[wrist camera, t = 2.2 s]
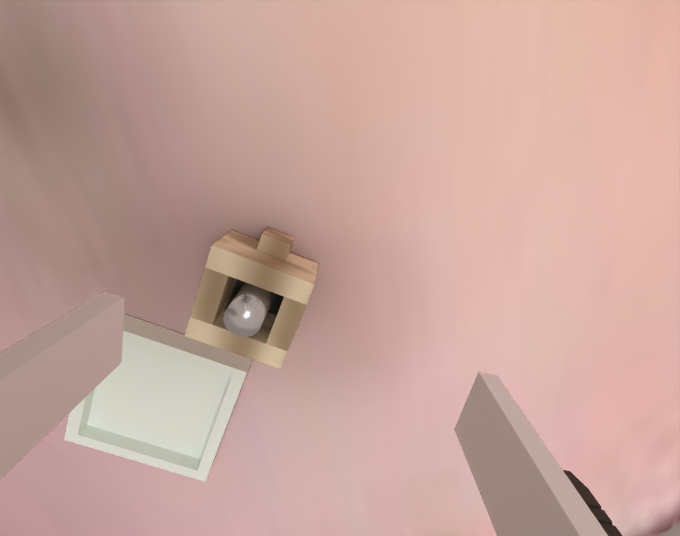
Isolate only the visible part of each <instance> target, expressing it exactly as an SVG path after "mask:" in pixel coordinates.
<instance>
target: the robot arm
mask: <svg viewBox="0 0 680 536" xmlns="http://www.w3.org/2000/svg"><path fill="white" fill-rule="evenodd" d="M124 304H125V297H124V296H120V295H115V294H110V293H105V292H102V293H100V294H98V295H97V296H95V297H93V298H92V299H90V300H88V301H87V302H85V303H83V304H81V305H80V306H78V307H76V308H75V309H73V310H71V311H70V312H68V313H66V314H65V315H63V316H61V317H60V318H58V319H56V320H54V321H53V322H51V323H49V324H48V325H46V326H44V327H43V328H41V329H39V330H38V331H36V332H34V333H33V334H31V335H29V336H27V337H26V338H24V339H22V340H21V341H19V342H17V343H16V344H14V345H12V346H11V347H9V348H7V349H6V350H4V351H2V352H0V479H1V478H2V477H3V476H5V475H6V474H7V473H8V472H9V471H10V470H11V469H12V468H13V467H14V466H15V465H16V464H17V463H18V462H19V461H20V460H21V459H22V458H23V457H24V456H25V455H26V454H27V453H28V452H29V451H30V450H31V449H33V448H34V447H35V446H36V445H37V444H38V443H39V442H40V441H41V440H42V439H43V438H44V437H45V436H46V435H47V434H48V433H49V432H50V431H51V430H52V429H53V428H54V427H55V426H56V425H57V424H58V423H59V422H61V421H62V420H63V419H64V418H65V417H66V416H67V415H68V414H69V413H70V412H71V411H72V410H73V409H74V408H75V407H76V406H77V405H78V404H79V403H80V402H81V401H82V400H83V399H84V398H85V397H86V396H87V395H89V394H90V393H91V392H92V391H93V390H94V389H95V388H96V387H97V386H98V385H99V384H100V383H101V382H102V381H103V380H104V379H105V378H106V377H107V376H108V375H109V374H110V373H111V372H112V371H113V370H114V369H116V368H117V367H118V366H119V365H120V364H121V362H122V343H123V324H124ZM455 432H456V434H457V437H458V439H459V442H460V444H461V447H462V449H463V452H464V454H465V457H466V459H467V462H468V464H469V467H470V469H471V472H472V474H473V477H474V479H475V482H476V484H477V487H478V489H479V491H480V494H481V496H482V499H483V501H484V504H485V506H486V509H487V511H488V514H489V516H490V519H491V521H492V524H493V526H494V529H495V531H496V534H497V536H622V535H621V533H620V532H619V531H618V529H617V528H616V527H615V526H613V525H612V521H611V520H610V518H609V517H608V516H607V514H606V513H605V511H604V510H601V506H600V504H599V503H598V502H597V500H596V499H595V498H594V496H593V495H592V493H591V492H590V491H589V489H588V488H587V487H586V486H585V485H584V484H583V483H582V482H581V481H580V480H578V479H577V478H576V477H575V476H574V475H573V474H572V473H571V472H570V471H566V470H562V468H561V467H560V465H559V464H558V462H557V461H556V460H555V458H554V457H553V455H552V454H551V452H550V451H549V449H548V448H547V446H546V445H545V444H544V442H543V441H542V439H541V438H540V436H539V435H538V433H537V432H536V431H535V429H534V428H533V426H532V425H531V423H530V422H529V420H528V419H527V417H526V416H525V415H524V413H523V412H522V410H521V409H520V407H519V406H518V404H517V403H516V402H515V400H514V399H513V397H512V396H511V394H510V393H509V391H508V390H507V388H506V387H505V386H504V384H503V383H502V381H501V380H500V378H499V377H498V376H496V375H491V374H487V373H482V372H478V374H477V377H476V379H475V382H474V384H473V386H472V389H471V391H470V394H469V396H468V398H467V401H466V403H465V405H464V408H463V410H462V413H461V415H460V417H459V420H458V422H457V425H456V427H455Z"/></svg>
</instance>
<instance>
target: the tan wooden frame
mask: <svg viewBox="0 0 680 536" xmlns="http://www.w3.org/2000/svg"><path fill="white" fill-rule="evenodd" d="M293 240H294V237H291V236H289V235H286V234H284V233H281V232H279V231H276V230H274V229H271V228H269V227H268V228H267V229H266V230H265V231H264V232H263V233H262V235H261V238H260V241H259V240H256V239H254V238H251V237H249V236H246V235H243V234H241V233H238V232H236V231H233V230H231V231H230V232H228V233H227V234H226V235H224V236H223V237H222V238H221V239H219V240H218V241H217V242H215V243H214V244H213V245H211V249H210V252H209V255H208V259H207V262H206V265H205V269H204V272H203V275H202V279H201V282H200V285H199V288H198V292H197V295H196V298H195V302H194V305H193V308H192V312H191V315H190V318H189V322H188V325H187V328H186V332H185V335H184V336H186V337H188V338H191V339H194V340H197V341H200V342H203V343H206V344H209V345H212V346H215V347H217V348H220V349H223V350H226V351H229V352H232V353H235V354H238V355H241V356H244V357H246V358H249V359H252V360H255V361H258V362H261V363H264V364H267V365H270V366H273V367H275V368H278V369H280V368H281V365H282V363H283V361H284V358H285V356H286V353H287V351H288V348H289V346H290V344H291V341H292V339H293V336H294V334H295V332H296V329H297V327H298V324H299V322H300V319H301V317H302V315H303V312H304V310H305V307H306V305H307V303H308V300H309V298H310V295H311V293H312V291H313V288H314V286H315V282H316V277H317V272H318V266H319V264H318V263H316V262H313V261H311V260H308V259H305V258H303V257H300V256H298V255H295V254H292V253H290V252H289V251H290V248H291V246H292V243H293ZM237 280H241V281H243V282H246V283H249V284H252V285H254V286H257V287H260V288H262V289H265V290H268V291H270V292H273V293H276V294H278V295H281V296H284V298H283V301H282V303H281V306H280V309H279V311H278V314H277V315H274V314H271V313H268V312H267V314H266V316H265V319H264V321H263V323H262V325H261V327H260V329H259V331H258V332H257V333H256V334H254V335H252V336H249V337H240V336H237V335H234V334H233V333H231V332H230V331H229V330H228V329H227V328H226V326H225V324H224V319H223V317H224V313H225V311H226V309H227V308H228V306H229V305H230V303H231V302H232V301H233V299H231V298H232V295H233V292H234V289H235V286H236V283H237Z"/></svg>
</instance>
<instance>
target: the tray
mask: <svg viewBox="0 0 680 536" xmlns="http://www.w3.org/2000/svg"><path fill="white" fill-rule="evenodd" d="M251 362H252V359H249V358H246V357H244V356H241V355H238V354H235V353H232V352H229V351H226V350H223V349H220V348H217V347H215V346H212V345H209V344H206V343H203V342H200V341H197V340H194V339H191V338H188V337H186V336H184V334H181V333H178V332H175V331H172V330H169V329H167V328H164V327H161V326H158V325H155V324H152V323H149V322H146V321H143V320H140V319H138V318H135V317H132V316H129V315H126V314H124V324H123V343H122V362H121V364H120V365H119V366H118V367H117V368H116V369H114V370H113V371H112V372H111V373H110V374H109V375H108V376H107V377H106V378H105V379H104V380H103V381H102V382H101V383H100V384H99V385H98V386H97V387H96V388H95V389H94V390H93V391H92V392H91V393H90V394H89V395H87V396H86V397H85V398H84V399H83V400H82V401H81V402H80V403H79V404H78V405H77V406H76V407H75V408H74V409H73V410H72V411H71V412H70V413H69V418H68V423H67V428H66V433H65V438H64V440H67V441H70V442H74V443H77V444H80V445H84V446H87V447H90V448H94V449H97V450H100V451H104V452H107V453H111V454H114V455H117V456H121V457H124V458H127V459H131V460H134V461H137V462H141V463H144V464H147V465H151V466H154V467H158V468H161V469H164V470H168V471H171V472H174V473H178V474H181V475H184V476H188V477H191V478H194V479H198V480H201V481H206V479H207V476H208V474H209V471H210V469H211V466H212V464H213V461H214V459H215V456H216V453H217V451H218V448H219V446H220V443H221V440H222V438H223V435H224V432H225V430H226V427H227V425H228V422H229V419H230V417H231V414H232V411H233V409H234V406H235V404H236V401H237V398H238V396H239V393H240V390H241V388H242V385H243V383H244V380H245V377H246V375H247V372H248V369H249V367H250V364H251Z"/></svg>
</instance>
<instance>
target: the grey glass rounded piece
mask: <svg viewBox="0 0 680 536" xmlns="http://www.w3.org/2000/svg"><path fill="white" fill-rule="evenodd" d="M283 298H284V296H281V295H278V294H276V293H273V292H270V291H268V290H265V289H262V288H260V287H257V286H254V285H252V284H249V283H246V282H243V281H241V280H237V283H236V286H235V289H234V292H233V295H232V298H231V299H233V301H232V302H231V303H230V305H229V306H228V308H227V309H226V311H225V313H224V317H223V319H224V324H225V326H226V328H227V329H228V330H229V331H230V332H231V333H233V334H234V335H237V336H240V337H249V336H252V335H254V334H256V333H257V332H258V331H259V329H260V327H261V325H262V323H263V321H264V319H265V316H266V314H267V312H268V313H271V314H274V315H277V314H278V311H279V309H280V306H281V303H282V301H283Z"/></svg>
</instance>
